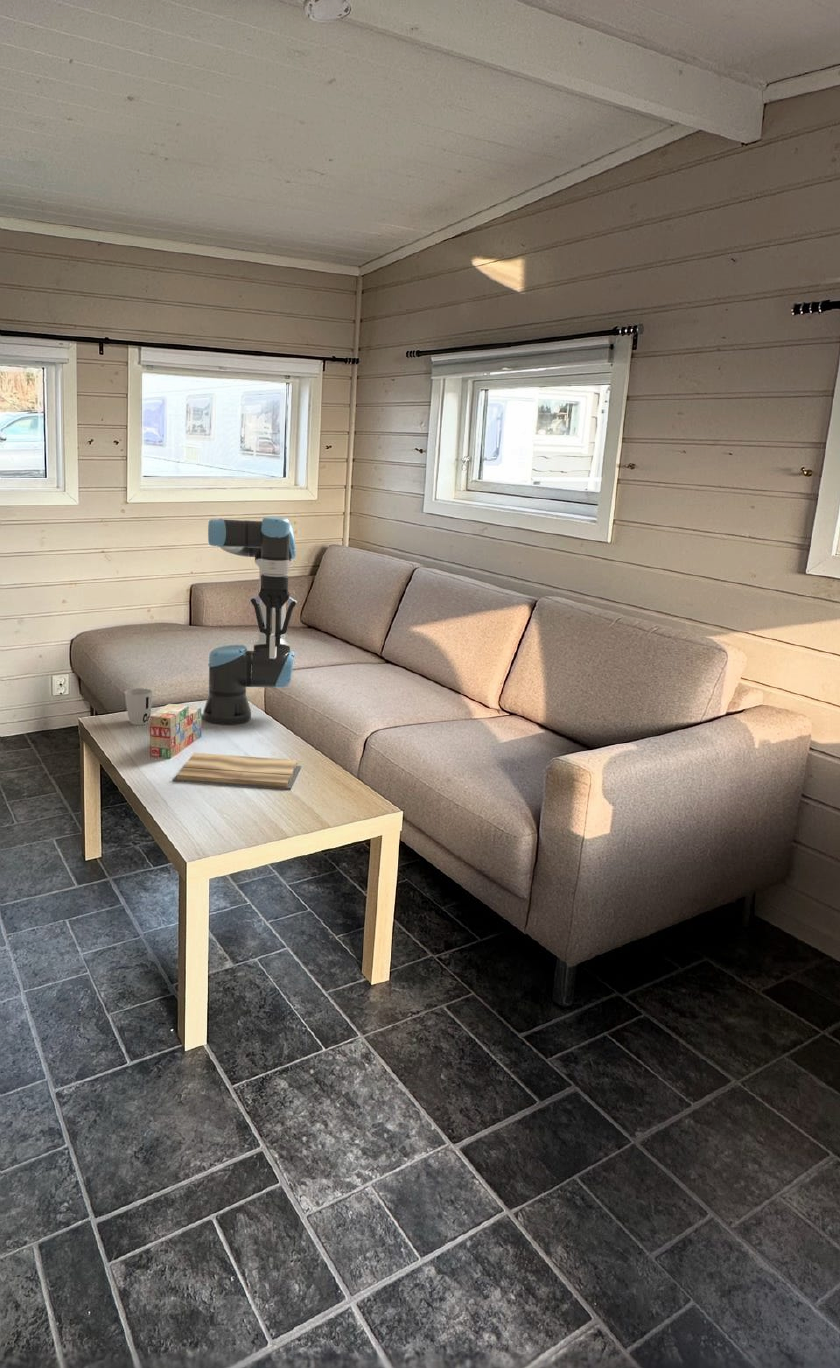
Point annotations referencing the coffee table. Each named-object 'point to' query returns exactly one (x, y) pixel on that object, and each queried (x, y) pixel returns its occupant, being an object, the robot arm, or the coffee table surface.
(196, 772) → the laid plank
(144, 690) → the cup
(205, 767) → the board
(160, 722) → the stack of blocks
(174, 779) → the underlay
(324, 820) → the coffee table surface
